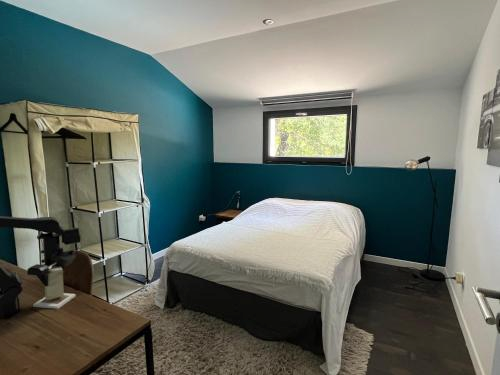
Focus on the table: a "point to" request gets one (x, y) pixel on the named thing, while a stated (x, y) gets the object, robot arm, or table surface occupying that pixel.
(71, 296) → the white square tray
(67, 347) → the table surface
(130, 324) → the table surface
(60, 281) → the skincare box
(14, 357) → the table surface
